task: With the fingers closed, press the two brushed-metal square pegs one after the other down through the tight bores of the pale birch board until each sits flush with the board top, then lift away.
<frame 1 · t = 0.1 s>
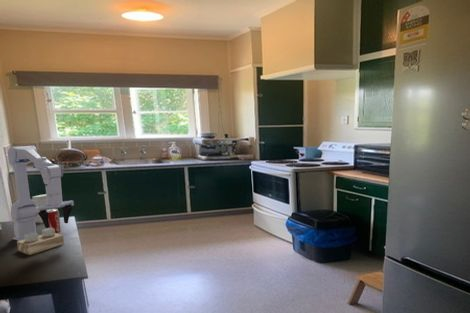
hand: (56, 225, 132), 10 cm above the table, tool pointing down, fingers open, 7 cm apart
skincare box: (44, 221, 178), on the table
peg board: (41, 247, 135), on the table
peg a: (31, 238, 131), point 5 cm above the table, slide at 0.0 cm
peg b: (48, 233, 137), point 5 cm above the table, slide at 0.0 cm
soda can: (54, 234, 153), on the table
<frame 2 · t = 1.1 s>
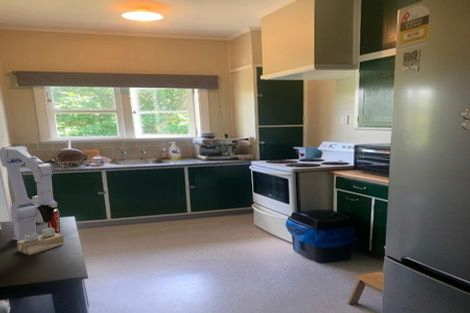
hand: (47, 221, 137), 10 cm above the table, tool pointing down, fingers closed
nothing on the table moved.
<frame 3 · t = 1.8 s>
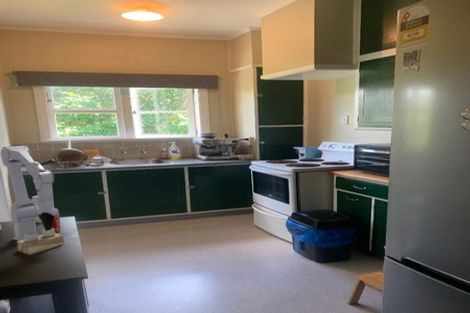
hand: (48, 229, 137), 7 cm above the table, tool pointing down, fingers closed, pressing on peg b
peg b: (48, 233, 137), point 5 cm above the table, slide at 0.1 cm, touching gripper
everything else where it was.
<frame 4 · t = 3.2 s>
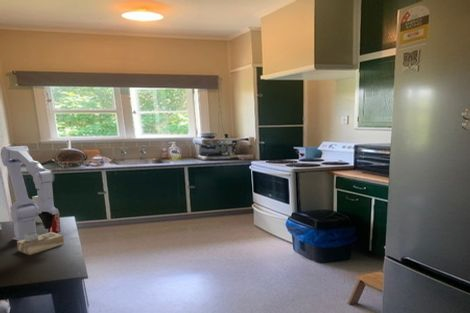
hand: (48, 228, 137), 7 cm above the table, tool pointing down, fingers closed
peg b: (49, 239, 138), point 2 cm above the table, slide at 2.8 cm
everything else where it was.
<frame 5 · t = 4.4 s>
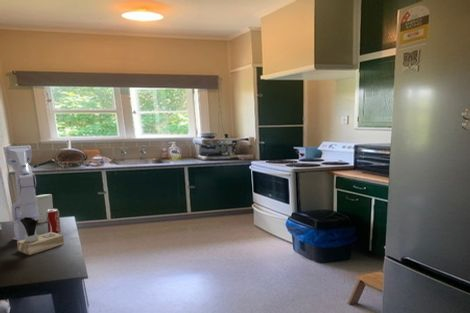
hand: (31, 234, 131), 7 cm above the table, tool pointing down, fingers closed, pressing on peg a
peg a: (31, 239, 131), point 5 cm above the table, slide at 0.4 cm, touching gripper
everything else where it was.
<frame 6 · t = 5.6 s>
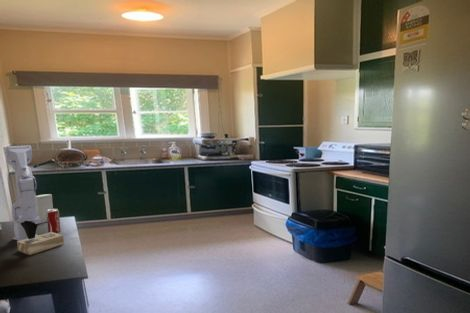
hand: (31, 238, 131), 5 cm above the table, tool pointing down, fingers closed
peg a: (32, 244, 132), point 2 cm above the table, slide at 2.8 cm
everything else where it was.
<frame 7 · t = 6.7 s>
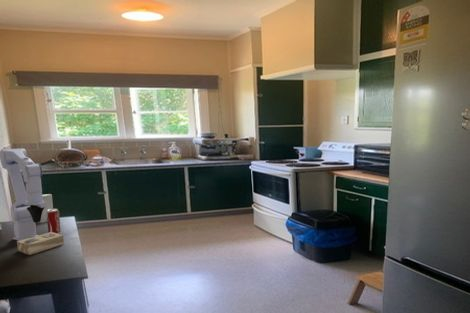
hand: (37, 222, 137), 10 cm above the table, tool pointing down, fingers closed
nothing on the table moved.
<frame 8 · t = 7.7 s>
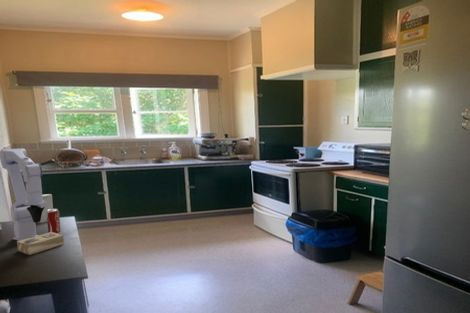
hand: (37, 222, 137), 10 cm above the table, tool pointing down, fingers closed
nothing on the table moved.
at the end: peg b slide at 2.8 cm; peg a slide at 2.8 cm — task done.
